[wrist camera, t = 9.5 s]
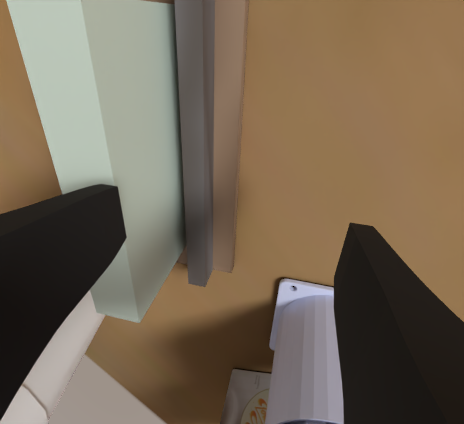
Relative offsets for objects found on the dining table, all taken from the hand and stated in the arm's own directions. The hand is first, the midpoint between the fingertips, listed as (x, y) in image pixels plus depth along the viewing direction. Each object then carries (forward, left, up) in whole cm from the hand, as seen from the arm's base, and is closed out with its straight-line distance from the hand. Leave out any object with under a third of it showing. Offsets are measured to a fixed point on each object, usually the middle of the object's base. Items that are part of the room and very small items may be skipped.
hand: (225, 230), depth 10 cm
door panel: (+6, +1, -9) cm, 11 cm away
